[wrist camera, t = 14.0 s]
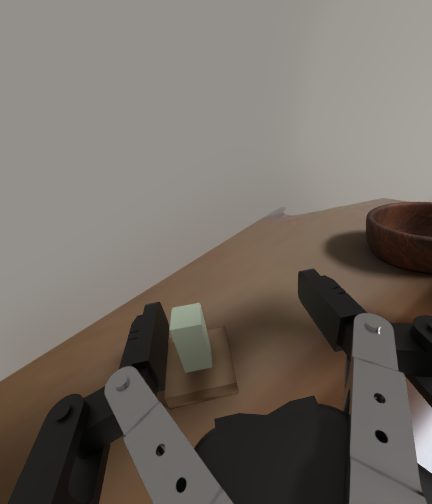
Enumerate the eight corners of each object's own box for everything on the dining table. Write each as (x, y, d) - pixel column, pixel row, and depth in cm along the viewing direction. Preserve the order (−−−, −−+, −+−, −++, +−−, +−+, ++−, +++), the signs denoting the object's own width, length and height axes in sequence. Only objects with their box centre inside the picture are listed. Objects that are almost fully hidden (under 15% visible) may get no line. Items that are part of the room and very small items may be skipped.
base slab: (226, 336, 43) (224, 326, 42) (238, 393, 34) (236, 382, 32) (172, 348, 43) (168, 338, 42) (169, 409, 33) (164, 398, 32)
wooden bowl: (442, 296, 44) (462, 253, 39) (340, 248, 65) (345, 216, 60) (514, 259, 50) (539, 218, 45) (399, 226, 71) (408, 196, 66)
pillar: (210, 344, 39) (199, 302, 34) (212, 367, 35) (201, 324, 30) (185, 348, 39) (172, 308, 34) (185, 372, 35) (169, 330, 30)
